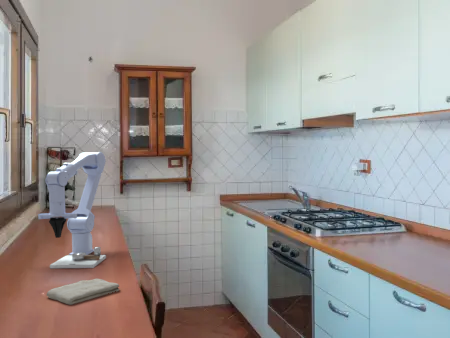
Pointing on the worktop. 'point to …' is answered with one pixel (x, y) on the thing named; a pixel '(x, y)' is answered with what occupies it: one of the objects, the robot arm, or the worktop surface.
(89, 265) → the base
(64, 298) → the washcloth
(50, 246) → the worktop surface
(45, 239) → the worktop surface
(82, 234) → the robot arm
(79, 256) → the silver piece
